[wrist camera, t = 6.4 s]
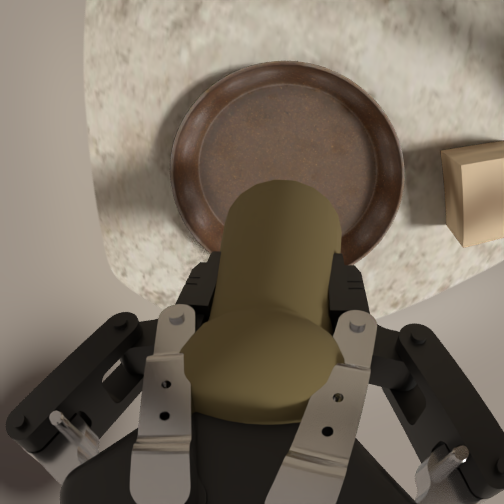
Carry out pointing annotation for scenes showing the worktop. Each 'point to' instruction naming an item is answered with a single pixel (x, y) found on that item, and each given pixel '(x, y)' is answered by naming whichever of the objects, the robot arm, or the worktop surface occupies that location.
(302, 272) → the olive green pawn
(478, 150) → the oak base block
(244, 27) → the worktop surface
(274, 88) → the plant saucer
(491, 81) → the worktop surface
